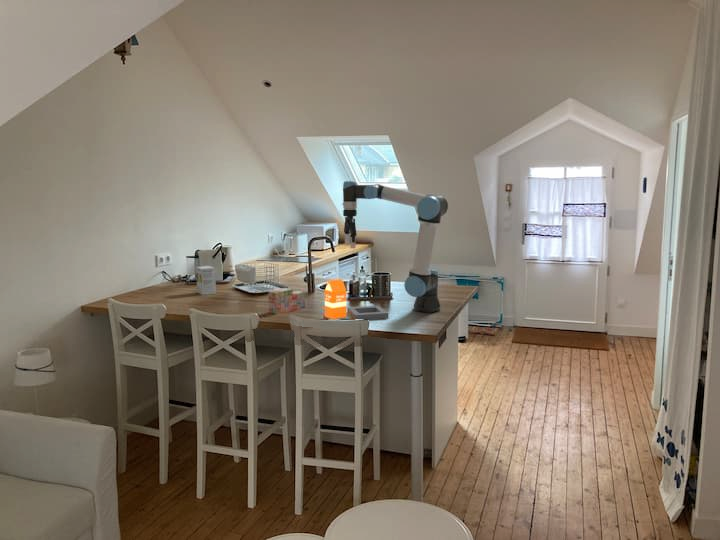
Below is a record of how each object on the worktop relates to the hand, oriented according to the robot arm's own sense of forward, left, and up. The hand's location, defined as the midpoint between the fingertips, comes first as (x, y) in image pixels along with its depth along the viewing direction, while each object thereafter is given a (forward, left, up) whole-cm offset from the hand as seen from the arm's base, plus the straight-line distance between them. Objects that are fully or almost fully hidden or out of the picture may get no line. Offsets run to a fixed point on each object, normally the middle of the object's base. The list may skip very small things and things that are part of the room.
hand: (350, 246), depth 337 cm
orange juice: (+14, +23, -34) cm, 43 cm away
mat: (+13, +23, -35) cm, 44 cm away
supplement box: (+80, -61, -35) cm, 106 cm away
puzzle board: (-4, +23, -35) cm, 42 cm away
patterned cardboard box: (+36, -1, -35) cm, 50 cm away
